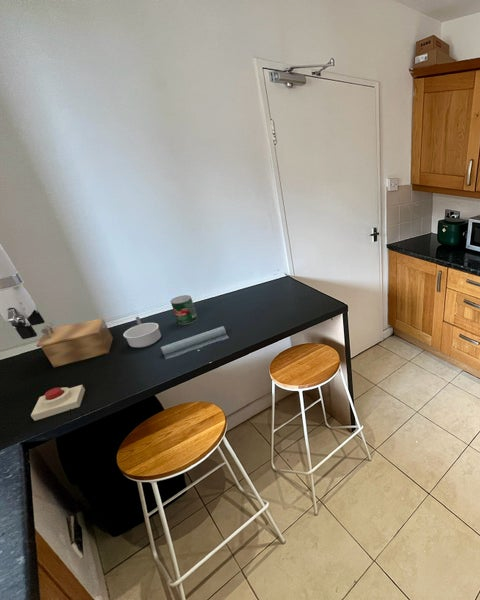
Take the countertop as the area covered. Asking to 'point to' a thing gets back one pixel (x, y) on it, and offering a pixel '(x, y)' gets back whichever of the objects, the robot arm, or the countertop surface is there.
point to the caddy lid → (69, 332)
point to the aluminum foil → (194, 342)
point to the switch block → (58, 403)
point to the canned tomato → (184, 309)
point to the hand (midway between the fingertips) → (34, 330)
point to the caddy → (79, 348)
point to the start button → (53, 393)
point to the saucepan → (142, 334)
